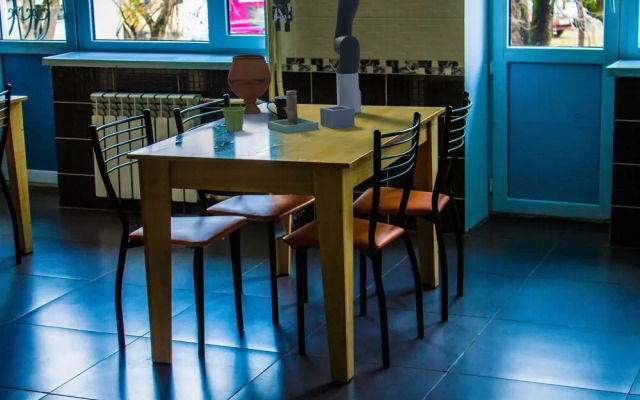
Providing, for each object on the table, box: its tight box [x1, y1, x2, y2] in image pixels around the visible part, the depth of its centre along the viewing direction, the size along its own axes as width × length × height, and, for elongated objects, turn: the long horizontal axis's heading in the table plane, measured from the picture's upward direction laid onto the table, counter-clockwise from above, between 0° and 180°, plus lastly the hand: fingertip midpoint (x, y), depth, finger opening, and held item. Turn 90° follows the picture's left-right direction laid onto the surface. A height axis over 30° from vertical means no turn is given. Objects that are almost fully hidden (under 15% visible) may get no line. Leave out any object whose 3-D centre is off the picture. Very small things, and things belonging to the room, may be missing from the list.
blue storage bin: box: [319, 105, 356, 130], centre depth 415 cm, size 10×10×7 cm
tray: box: [267, 117, 320, 134], centre depth 413 cm, size 15×15×3 cm
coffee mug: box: [266, 95, 288, 120], centre depth 431 cm, size 12×9×10 cm
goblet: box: [227, 53, 272, 115], centre depth 454 cm, size 19×19×25 cm
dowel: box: [285, 90, 299, 126], centre depth 412 cm, size 4×4×14 cm
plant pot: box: [221, 106, 245, 132], centre depth 413 cm, size 9×9×9 cm
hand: (282, 31), depth 433 cm, fingers open, 8 cm apart
